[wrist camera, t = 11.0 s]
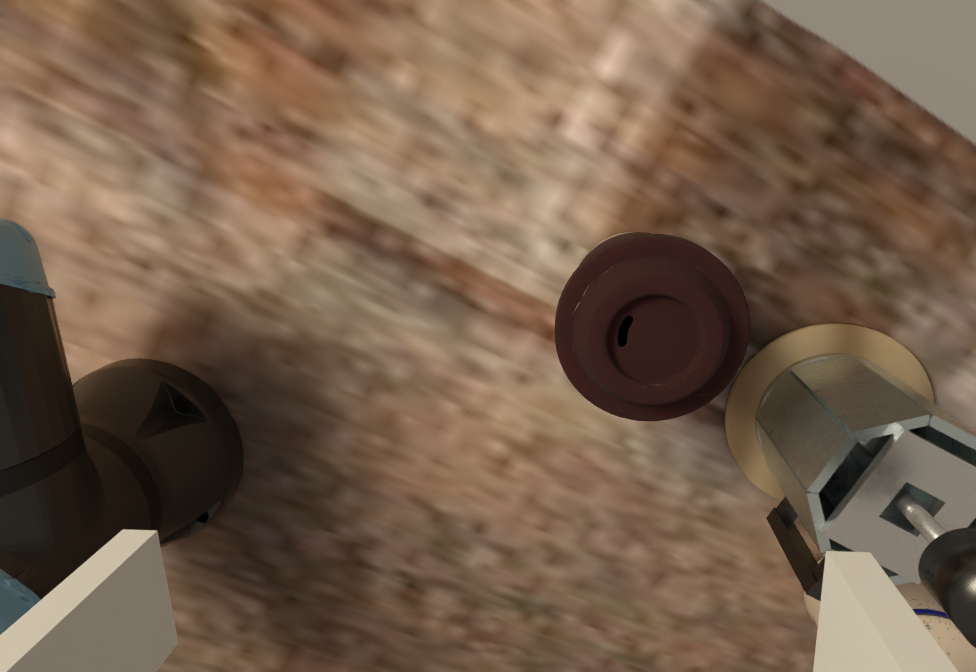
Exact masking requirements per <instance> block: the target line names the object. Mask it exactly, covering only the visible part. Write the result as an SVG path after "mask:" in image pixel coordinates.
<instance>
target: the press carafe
mask: <svg viewBox="0 0 976 672" xmlns="http://www.w3.org/2000/svg"><path fill="white" fill-rule="evenodd" d="M755 431H756V437H757V440H758V443H759V446H760V448H761V450H762V452H763V454H764V456H765V460H766V464H767V466H768V468H769V470H770V471H771V473H772V474H773V476H774V478H775V479H776V481H777V483H778V484H779V486H780V487H781V489H782V491H783V492H784V494H785V497H784V499H783V500H782V501H781V503H780V504H779V505H778V507H777V508H775V507H774V509H773V510H772V511H771V513H770V514H769V515H768V517H767V520H768V522H769V524H770V526H771V528H772V530H773V532H774V534H775V536H776V538H777V539H778V541H779V543H780V545H781V547H782V549H783V551H784V553H785V555H786V557H787V558H788V560H789V562H790V564H791V566H792V568H793V570H794V572H795V574H796V576H797V577H798V579H799V581H800V583H801V585H802V587H803V589H804V591H805V593H806V594H807V595H809V596H811V597H813V598H815V599H817V600H818V601H820V602H821V593H822V584H823V574H824V565H825V555H826V551H844V552H870V553H871V554H872V555H873V557H874V558H875V559H876V561H877V562H878V564H879V565H880V566H881V568H882V569H883V570H884V572H885V573H886V574H887V576H888V577H889V578H890V580H891V581H892V583H893V584H894V585H899V584H904V583H909V582H914V583H916V584H918V585H919V583H920V582H921V580H920V577H919V572H918V565H919V560H920V557H921V555H922V553H923V551H924V550H925V548H926V547H927V546H928V545H929V542H928V541H927V540H926V539H925V538H924V537H923V536H922V535H921V534H920V532H919V531H918V530H917V529H916V528H915V527H914V526H913V525H912V524H911V522H910V521H909V520H908V519H907V518H906V517H905V516H904V515H903V514H902V512H901V511H900V510H899V509H898V508H897V507H896V506H895V505H894V504H893V502H892V499H893V498H894V497H895V496H896V494H897V493H898V492H899V491H900V489H901V488H902V487H904V488H905V489H906V490H907V491H908V492H909V493H910V494H911V495H912V496H913V497H914V498H915V499H916V500H917V501H918V502H919V504H920V505H921V506H922V507H923V508H924V509H925V510H926V511H927V512H928V513H929V514H930V515H931V516H932V517H933V518H934V519H935V520H936V521H937V522H938V523H939V524H940V525H941V526H942V527H943V528H944V529H945V530H946V531H947V532H948V531H951V530H955V529H959V528H976V433H975V432H973V431H972V430H970V429H969V428H968V427H966V426H965V425H963V424H962V423H961V422H959V421H958V420H956V419H955V418H954V417H952V416H951V415H949V414H948V413H947V412H945V411H944V410H942V409H941V408H940V407H938V406H937V405H935V404H934V403H933V402H931V401H930V400H928V399H927V398H926V397H924V396H923V395H921V394H920V393H919V392H917V391H916V390H914V389H913V388H911V387H910V386H909V385H907V384H906V383H904V382H903V381H902V380H900V379H898V378H897V377H895V376H893V375H891V374H889V373H887V372H886V371H885V370H884V369H882V368H881V367H879V366H878V365H876V364H875V363H873V362H871V361H869V360H867V359H865V358H862V357H859V356H855V355H853V354H848V353H846V354H845V353H827V354H820V355H815V356H811V357H808V358H805V359H803V360H800V361H798V362H796V363H794V364H793V365H791V366H789V367H788V368H786V369H785V370H783V371H782V372H781V373H780V374H778V375H777V376H776V377H775V378H774V379H773V380H772V382H771V383H770V384H769V385H768V387H767V388H766V390H765V391H764V393H763V395H762V397H761V399H760V401H759V404H758V407H757V411H756V417H755ZM893 433H894V434H893ZM889 434H893V435H892V436H891V438H890V439H889V440H888V441H887V443H886V444H885V445H884V447H883V448H882V449H881V450H880V452H879V453H878V454H877V456H876V457H875V458H874V460H873V461H872V462H871V463H870V465H869V466H868V467H867V469H866V470H865V471H864V473H863V474H862V475H861V476H860V478H859V479H858V480H857V482H856V483H855V484H854V485H853V487H852V488H851V489H850V491H832V490H827V489H823V487H824V485H825V484H826V483H827V481H828V480H829V479H830V477H831V476H832V475H833V473H834V472H835V471H836V469H837V468H838V467H839V466H840V464H841V463H842V462H843V460H844V459H845V458H846V456H847V455H848V454H849V452H850V451H851V450H852V448H853V447H854V446H855V444H856V443H857V442H859V441H863V440H867V439H872V438H876V437H880V436H885V435H889ZM797 516H798V517H799V518H800V520H801V522H802V523H803V525H804V527H805V528H806V530H807V531H808V533H809V535H810V536H811V538H812V540H813V541H814V543H815V544H816V546H817V548H818V549H819V551H820V553H822V555H823V556H824V558H823V559H822V560H821V561H820V563H819V564H818V563H817V561H816V560H815V558H814V556H813V554H812V553H811V551H810V549H809V548H808V546H807V544H806V543H805V541H804V539H803V538H802V536H801V534H800V532H799V531H798V529H797V527H796V526H795V524H794V520H795V519H796V518H797Z"/></svg>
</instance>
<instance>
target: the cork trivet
mask: <svg viewBox="0 0 976 672" xmlns="http://www.w3.org/2000/svg"><path fill="white" fill-rule="evenodd" d="M827 353H845V354H846V353H848V354H853V355H855V356H859V357H862V358H865V359H867V360H869V361H871V362H873V363H875V364H876V365H878V366H879V367H881V368H882V369H884V370H885V371H886V372H887V373H889V374H891V375H893V376H895V377H897V378H898V379H900V380H902V381H903V382H904V383H906V384H907V385H909V386H910V387H911V388H913V389H914V390H916V391H917V392H919V393H920V394H921V395H923V396H924V397H926V398H927V399H928V400H930V401H931V402H933V403H934V395H933V391H932V387H931V384H930V381H929V379H928V377H927V374H926V372H925V371H924V369H923V367H922V366H921V364H920V363H919V362H918V360H917V359H916V358H915V357H914V356H913V354H912V353H911V352H909V351H908V350H907V349H906V348H905V347H904V346H903V345H901V344H900V343H898V342H897V341H895V340H893V339H892V338H890V337H889V336H887V335H885V334H883V333H881V332H878V331H876V330H874V329H871V328H867V327H864V326H860V325H855V324H849V323H823V324H816V325H811V326H806V327H803V328H800V329H796V330H793V331H791V332H789V333H787V334H784V335H782V336H780V337H778V338H777V339H775V340H773V341H772V342H770V343H768V344H767V345H766V346H765V347H763V348H762V349H761V350H759V351H758V352H757V353H756V354H755V355H754V356H753V357H752V358H751V359H750V360H749V361H748V362H747V363H746V365H745V366H744V367H743V369H742V370H741V371H740V373H739V374H738V376H737V378H736V379H735V381H734V383H733V385H732V388H731V390H730V392H729V396H728V399H727V403H726V408H725V416H724V419H725V433H726V439H727V442H728V446H729V449H730V451H731V453H732V455H733V457H734V459H735V461H736V463H737V465H738V466H739V468H740V469H741V471H742V472H743V474H744V475H745V476H746V477H747V478H748V479H749V480H750V481H751V482H752V483H753V484H754V485H755V486H757V487H758V488H759V489H760V490H762V491H763V492H765V493H766V494H768V495H770V496H771V497H773V498H776V499H778V500H780V501H782V500H783V499H784V497H785V494H784V492H783V491H782V489H781V487H780V486H779V484H778V483H777V481H776V479H775V478H774V476H773V474H772V473H771V471H770V470H769V468H768V466H767V464H766V460H765V456H764V454H763V452H762V450H761V448H760V446H759V443H758V440H757V437H756V431H755V417H756V411H757V407H758V404H759V401H760V399H761V397H762V395H763V393H764V391H765V390H766V388H767V387H768V385H769V384H770V383H771V382H772V380H773V379H774V378H775V377H776V376H777V375H778V374H780V373H781V372H782V371H783V370H785V369H786V368H788V367H789V366H791V365H793V364H794V363H796V362H798V361H800V360H803V359H805V358H808V357H811V356H815V355H820V354H827Z"/></svg>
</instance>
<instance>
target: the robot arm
mask: <svg viewBox="0 0 976 672" xmlns="http://www.w3.org/2000/svg"><path fill="white" fill-rule="evenodd" d="M54 298H56V296H55V292H54V290H53V289H52V288H50V287H49V285H48V282H47V278H46V275H45V272H44V268H43V265H42V261H41V257H40V254H39V250H38V247H37V244H36V242H35V240H34V238H33V237H32V235H31V234H30V233H29V232H28V231H27V230H26V229H25V228H24V227H22V226H21V225H19V224H17V223H15V222H13V221H10V220H7V219H3V218H0V672H156V671H157V670H158V669H159V667H160V666H161V665H162V663H163V662H164V661H165V660H166V658H167V657H168V656H169V654H170V653H171V652H172V651H173V649H174V648H175V647H176V646H177V644H178V638H177V633H176V628H175V622H174V617H173V612H172V606H171V601H170V596H169V590H168V585H167V580H166V574H165V569H164V564H163V558H162V553H161V547H163V546H166V545H168V544H171V543H173V542H176V541H178V540H180V539H183V538H185V537H188V536H190V535H192V534H194V533H196V532H197V531H199V530H201V529H202V528H203V527H205V526H206V525H207V524H209V523H210V522H211V521H212V520H213V519H214V518H215V517H216V516H217V515H218V514H219V513H220V512H221V511H222V510H223V508H224V507H225V506H226V505H227V504H228V503H229V501H230V500H231V499H232V497H233V495H234V494H235V492H236V490H237V487H238V485H239V481H240V478H241V473H242V465H243V454H242V446H241V441H240V437H239V434H238V431H237V428H236V426H235V423H234V421H233V419H232V417H231V415H230V414H229V412H228V410H227V409H226V407H225V406H224V404H223V403H222V402H221V400H220V399H219V398H218V397H217V396H216V394H215V393H214V392H213V391H212V390H211V389H210V388H209V387H207V386H206V385H205V384H204V383H203V382H201V381H200V380H199V379H197V378H196V377H194V376H193V375H191V374H190V373H188V372H186V371H184V370H182V369H180V368H178V367H176V366H173V365H171V364H168V363H165V362H161V361H156V360H150V359H127V360H121V361H117V362H114V363H111V364H108V365H106V366H104V367H102V368H100V369H98V370H96V371H94V372H92V373H89V374H87V375H86V376H84V377H82V378H81V379H79V380H78V381H77V382H75V383H74V384H73V385H72V382H71V378H70V373H69V369H68V365H67V360H66V356H65V351H64V347H63V343H62V338H61V334H60V329H59V325H58V321H57V316H56V312H55V307H54V303H53V299H54ZM813 672H958V671H957V669H956V668H955V667H954V665H953V664H952V663H951V661H950V660H949V659H948V657H947V656H946V655H945V653H944V652H943V650H942V649H941V648H940V646H939V645H938V644H937V642H936V641H935V640H934V638H933V637H932V636H931V634H930V633H929V631H928V630H927V629H926V627H925V626H924V625H923V623H922V622H921V621H920V619H919V618H918V616H917V615H916V614H915V612H914V611H913V610H912V608H911V607H910V606H909V604H908V603H907V602H906V600H905V599H904V597H903V596H902V595H901V593H900V592H899V591H898V589H897V588H896V587H895V585H894V584H893V583H892V581H891V580H890V578H889V577H888V576H887V574H886V573H885V572H884V570H883V569H882V568H881V566H880V565H879V564H878V562H877V561H876V559H875V558H874V557H873V555H872V554H871V553H870V552H844V551H826V555H825V565H824V574H823V584H822V593H821V602H820V612H819V621H818V631H817V640H816V649H815V659H814V668H813Z"/></svg>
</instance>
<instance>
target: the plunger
mask: <svg viewBox="0 0 976 672" xmlns="http://www.w3.org/2000/svg"><path fill="white" fill-rule="evenodd" d="M893 434H894V433H893ZM893 434H889V435H885V436H880V437H876V438H872V439H867V440H863V441H859V442H857V443H856V444H855V446H854V447H853V448H852V450H851V451H850V452H849V454H848V455H847V456H846V458H845V459H844V460H843V462H842V463H841V464H840V466H839V467H838V468H837V469H836V471H835V472H834V473H833V475H832V476H831V477H830V479H829V480H828V481H827V483H826V484H825V485H824V487H823V489H827V490H832V491H850V489H851V488H852V487H853V485H854V484H855V483H856V482H857V480H858V479H859V478H860V476H861V475H862V474H863V473H864V471H865V470H866V469H867V467H868V466H869V465H870V463H871V462H872V461H873V460H874V458H875V457H876V456H877V454H878V453H879V452H880V450H881V449H882V448H883V447H884V445H885V444H886V443H887V441H888V440H889V439H890V438H891V436H892V435H893ZM892 502H893V504H894V505H895V506H896V507H897V508H898V509H899V510H900V511H901V512H902V514H903V515H904V516H905V517H906V518H907V519H908V520H909V521H910V522H911V524H912V525H913V526H914V527H915V528H916V529H917V530H918V531H919V532H920V534H921V535H922V536H923V537H924V538H925V539H926V540H927V541H928V542H929V545H928V546H927V547H926V548H925V550H924V551H923V553H922V555H921V557H920V560H919V565H918V572H919V577H920V580H921V582H922V584H923V586H924V587H925V588H926V590H927V591H928V592H929V593H930V595H931V596H932V597H933V598H934V600H935V601H936V602H937V603H938V605H939V606H940V607H941V608H942V610H943V611H944V612H945V613H946V615H947V616H948V617H949V618H950V620H951V621H952V622H953V623H954V625H955V626H956V627H957V628H958V630H959V631H960V632H961V633H962V635H963V636H964V637H965V638H966V640H967V641H968V642H969V643H970V644H971V645H972V646H973V647H975V648H976V528H959V529H955V530H951V531H948V532H947V531H946V530H945V529H944V528H943V527H942V526H941V525H940V524H939V523H938V522H937V521H936V520H935V519H934V518H933V517H932V516H931V515H930V514H929V513H928V512H927V511H926V510H925V509H924V508H923V507H922V506H921V505H920V504H919V502H918V501H917V500H916V499H915V498H914V497H913V496H912V495H911V494H910V493H909V492H908V491H907V490H906V489H905V488H904V487H902V488H901V489H900V491H899V492H898V493H897V494H896V496H895V497H894V498H893V499H892Z"/></svg>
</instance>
